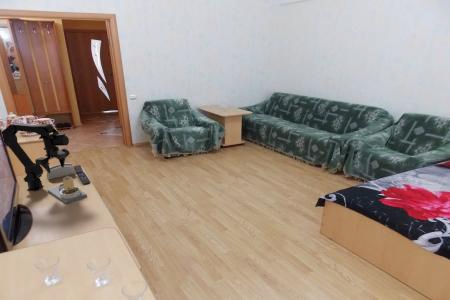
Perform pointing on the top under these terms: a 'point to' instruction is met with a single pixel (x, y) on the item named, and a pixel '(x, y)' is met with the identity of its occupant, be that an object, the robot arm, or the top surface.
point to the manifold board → (57, 194)
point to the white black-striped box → (60, 170)
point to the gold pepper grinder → (68, 185)
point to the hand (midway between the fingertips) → (56, 170)
